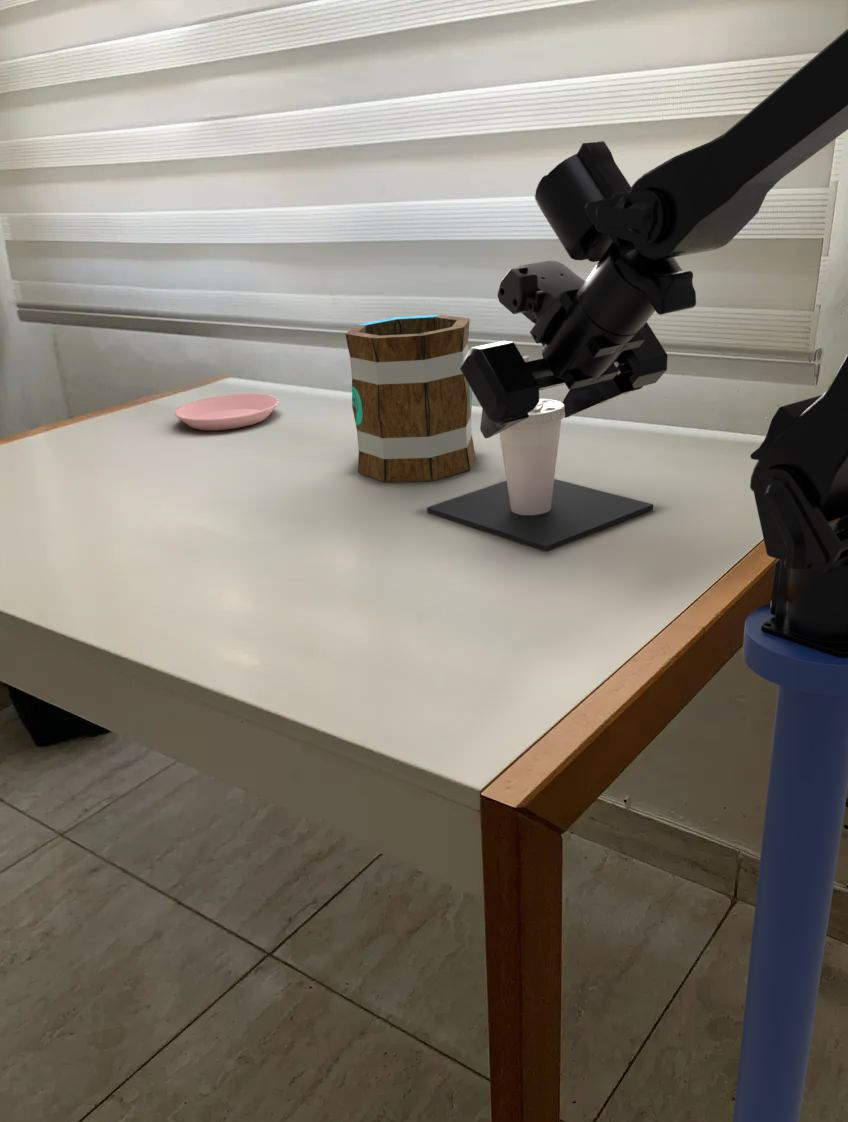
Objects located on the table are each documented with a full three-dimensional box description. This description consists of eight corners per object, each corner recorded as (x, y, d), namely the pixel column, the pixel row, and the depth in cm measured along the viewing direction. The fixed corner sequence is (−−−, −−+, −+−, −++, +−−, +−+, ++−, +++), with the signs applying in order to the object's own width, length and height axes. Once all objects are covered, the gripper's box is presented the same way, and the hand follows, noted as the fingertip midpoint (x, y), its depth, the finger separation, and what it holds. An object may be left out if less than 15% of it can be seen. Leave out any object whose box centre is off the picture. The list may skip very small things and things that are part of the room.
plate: (196, 440, 132) (194, 425, 131) (163, 420, 144) (161, 406, 143) (296, 419, 137) (295, 405, 136) (257, 402, 149) (255, 388, 148)
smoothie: (550, 494, 99) (549, 347, 93) (576, 514, 93) (576, 359, 87) (487, 503, 98) (482, 356, 92) (509, 524, 93) (505, 368, 86)
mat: (653, 509, 94) (653, 504, 94) (546, 551, 87) (546, 546, 87) (529, 477, 106) (529, 472, 106) (426, 512, 99) (426, 507, 99)
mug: (493, 472, 109) (488, 327, 102) (369, 489, 107) (356, 343, 100) (445, 429, 126) (439, 303, 120) (338, 444, 124) (326, 317, 118)
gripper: (647, 214, 86) (560, 336, 99) (468, 241, 77) (400, 371, 91) (716, 318, 83) (616, 430, 96) (537, 358, 75) (456, 474, 88)
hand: (524, 423), depth 93 cm, fingers open, 9 cm apart
